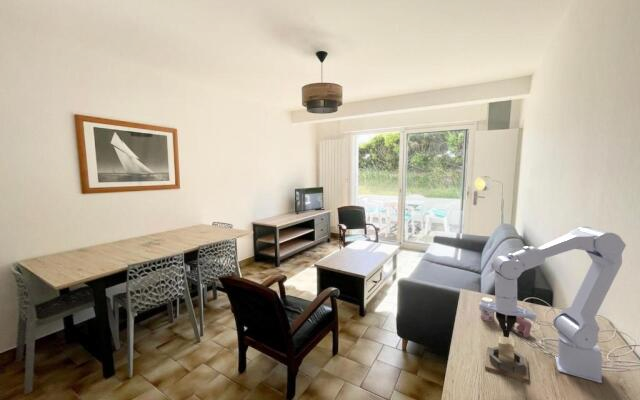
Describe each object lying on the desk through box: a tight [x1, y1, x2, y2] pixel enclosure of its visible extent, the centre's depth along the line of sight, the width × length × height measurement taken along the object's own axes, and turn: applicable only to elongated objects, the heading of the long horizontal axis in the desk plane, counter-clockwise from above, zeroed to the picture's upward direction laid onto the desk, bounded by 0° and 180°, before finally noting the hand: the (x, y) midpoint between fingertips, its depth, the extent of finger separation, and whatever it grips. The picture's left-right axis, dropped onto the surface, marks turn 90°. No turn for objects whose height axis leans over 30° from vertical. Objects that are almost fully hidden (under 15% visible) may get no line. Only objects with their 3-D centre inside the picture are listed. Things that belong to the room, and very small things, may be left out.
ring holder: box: [484, 346, 530, 383], centre depth 86 cm, size 11×11×3 cm
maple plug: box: [498, 335, 515, 364], centre depth 86 cm, size 4×4×7 cm
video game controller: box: [498, 315, 532, 339], centre depth 104 cm, size 10×5×7 cm, turn 36°
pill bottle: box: [480, 296, 495, 322], centre depth 113 cm, size 5×5×8 cm
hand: (506, 335), depth 86 cm, fingers closed
